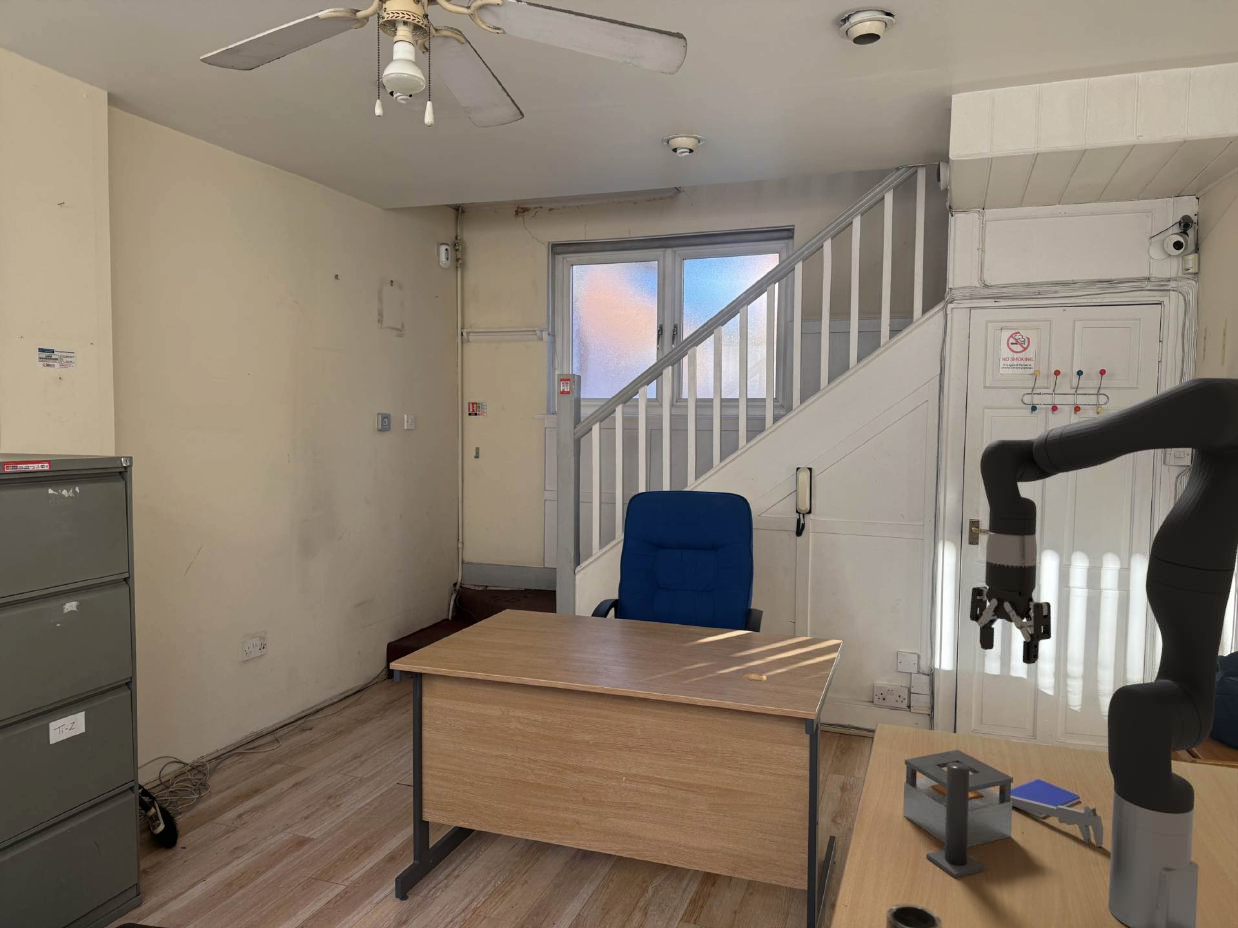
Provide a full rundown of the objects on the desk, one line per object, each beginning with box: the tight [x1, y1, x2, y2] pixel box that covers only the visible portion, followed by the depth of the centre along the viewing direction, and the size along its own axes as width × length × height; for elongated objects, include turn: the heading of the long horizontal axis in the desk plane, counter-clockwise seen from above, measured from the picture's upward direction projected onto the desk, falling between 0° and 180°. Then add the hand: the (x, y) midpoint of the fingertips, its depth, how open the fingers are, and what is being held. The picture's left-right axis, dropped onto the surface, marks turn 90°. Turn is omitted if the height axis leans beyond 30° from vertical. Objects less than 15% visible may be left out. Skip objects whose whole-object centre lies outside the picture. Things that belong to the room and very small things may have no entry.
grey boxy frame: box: [902, 749, 1014, 848], centre depth 134 cm, size 12×12×10 cm
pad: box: [925, 848, 986, 879], centre depth 123 cm, size 6×6×1 cm
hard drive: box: [1011, 778, 1081, 819], centre depth 144 cm, size 2×8×12 cm
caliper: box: [995, 791, 1104, 848], centre depth 137 cm, size 20×1×6 cm, turn 30°
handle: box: [944, 762, 970, 866], centre depth 123 cm, size 3×3×15 cm
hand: (1007, 655), depth 132 cm, fingers open, 8 cm apart
